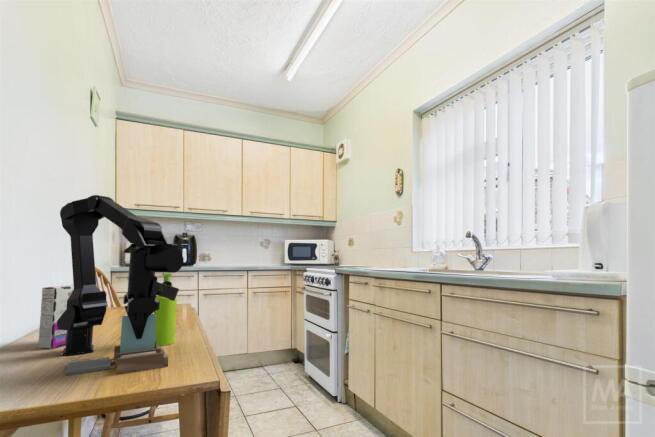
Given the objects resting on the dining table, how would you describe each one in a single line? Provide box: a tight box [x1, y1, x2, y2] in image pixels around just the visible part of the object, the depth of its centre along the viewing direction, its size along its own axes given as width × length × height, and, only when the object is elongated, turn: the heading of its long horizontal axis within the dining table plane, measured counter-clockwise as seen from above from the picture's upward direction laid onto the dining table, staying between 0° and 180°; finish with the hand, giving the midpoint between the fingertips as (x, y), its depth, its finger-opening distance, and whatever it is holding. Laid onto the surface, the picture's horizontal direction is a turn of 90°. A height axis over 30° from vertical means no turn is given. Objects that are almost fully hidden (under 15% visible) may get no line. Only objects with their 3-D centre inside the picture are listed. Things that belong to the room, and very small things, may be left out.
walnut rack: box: [113, 341, 169, 375], centre depth 82 cm, size 14×10×3 cm
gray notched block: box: [121, 351, 156, 358], centre depth 78 cm, size 2×8×3 cm, turn 123°
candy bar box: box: [38, 284, 74, 350], centre depth 100 cm, size 11×5×16 cm, turn 168°
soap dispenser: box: [153, 272, 178, 347], centre depth 101 cm, size 6×7×20 cm
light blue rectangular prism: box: [120, 313, 156, 353], centre depth 84 cm, size 4×7×10 cm, turn 123°
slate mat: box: [64, 356, 111, 376], centre depth 78 cm, size 8×8×1 cm
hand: (138, 337), depth 84 cm, fingers closed on light blue rectangular prism, 4 cm apart
